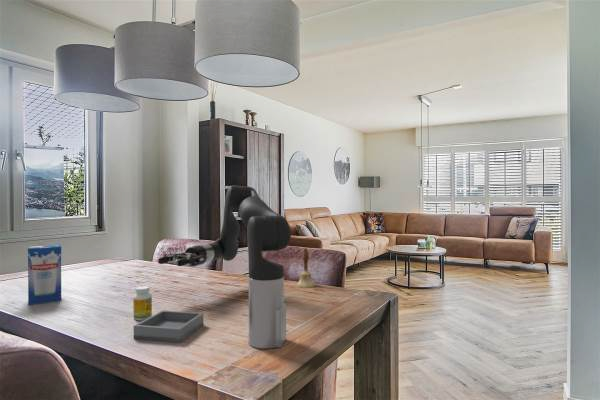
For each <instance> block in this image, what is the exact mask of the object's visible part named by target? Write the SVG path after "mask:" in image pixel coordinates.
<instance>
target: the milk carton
mask: <svg viewBox="0 0 600 400" xmlns="http://www.w3.org/2000/svg"><path fill="white" fill-rule="evenodd" d="M27 276H28V277H27V281H28V282H27V287H28V290H27V296H28V297H27V299H28V300H27V305H28V306H33V305H39V304H47V303H55V302H62V245H61V244H55V245H54V244H53V245H40V246H39V245H35V246H29V247H28V248H27Z"/></svg>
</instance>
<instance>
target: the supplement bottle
mask: <svg viewBox="0 0 600 400" xmlns="http://www.w3.org/2000/svg"><path fill="white" fill-rule="evenodd" d="M132 299H133V301H132V302H133V303H132V304H133V305H132V306H133V319H134V320H136V321H144V320H145V319H147V318H149V317H151V316H153V314H152V313H153V306H152V305H153V301H152V299H153V297H152V293H150V286H146V285H145V286H143V285H142V286H138V287H136V288H135V294H134V296H133V297H132Z"/></svg>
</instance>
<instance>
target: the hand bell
mask: <svg viewBox="0 0 600 400" xmlns="http://www.w3.org/2000/svg"><path fill="white" fill-rule="evenodd" d="M309 258H310V257H309V251H308V249H307V248H304V249H303V251H302V261H303V271H302V272H300V277H299V281H298V282H297V283H296V286H297V287H298V286H299V288H302V287H309V288H314V287H315V286H316V283H315V282H314V281H313V278H312V273H311V272H310V271H308V270H309V269H308V262H309Z"/></svg>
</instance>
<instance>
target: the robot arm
mask: <svg viewBox="0 0 600 400" xmlns="http://www.w3.org/2000/svg"><path fill="white" fill-rule="evenodd" d="M224 199H225V200H224V207H223V209H224V210H223V221H222V222H223V223H222V226H221V228H222V229H221V232H220V234H219V235H220V236H219V238H218V239H216V240H215V241H213V242H211V243H205V244H198V245H194V246H192V245H191V246H189V247H188V248H186V249H185V251H181V252H178V253H177V252H172V253H167V254H166V253H165V254H163V256H161V257H158V264H159V265H162V264H163V265H164V264H169V263H173V264H177V267H182V266H186V265H187V266H189V267H197V266H200V265H205V264H208V263H210V262H213V261H216V260H219V259H220V258H222V259H223V261H227V262H229V261H232V260H234V259H235V258H236V256H237V255H238V250H239V245H238V244H239V243H238V238H239V235H240V229H241V227H240V226H241V225H240V222H239V221H238V219H237V218H236V217H235V214H234V212H233V211H237V212H238V215H239V218H240V220H241V221H242V223H243V224H244V225H245V226H246V228H247V229H246V230H247V231H246V232H247V233H246V235H247V247H248V248H247V251H248V255H247V256H248V343H249V345H250V346H251V347H253V348H256V349H273V348H281V347H282V346H283V344H284V343H285V341H286V339H287V303H285V269H284V266H283V265H282V264H280V263H278V262H274V261H271V260H268V259H267V258H265V257H264V256H263V252H274V251H281V250H285V249H286V248H287V247H288V246H289V244H290V243H291V239H292V232H291V231H292V230H291V227H290V223H289V221H287V219H286V218H285V217H284V216H283V215H281V214H280V213H277V212H276V211H274V209H272V208H271V207H269V206H268V204H267V203H266V202H265V201H264V200H262V198H261V197H260V196H259V194H258V192H257V191H256V189H255V188H254V187H251V186H246V185H233V184H232V185H230V186H229V187H227V190H226V193H225V198H224Z"/></svg>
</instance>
